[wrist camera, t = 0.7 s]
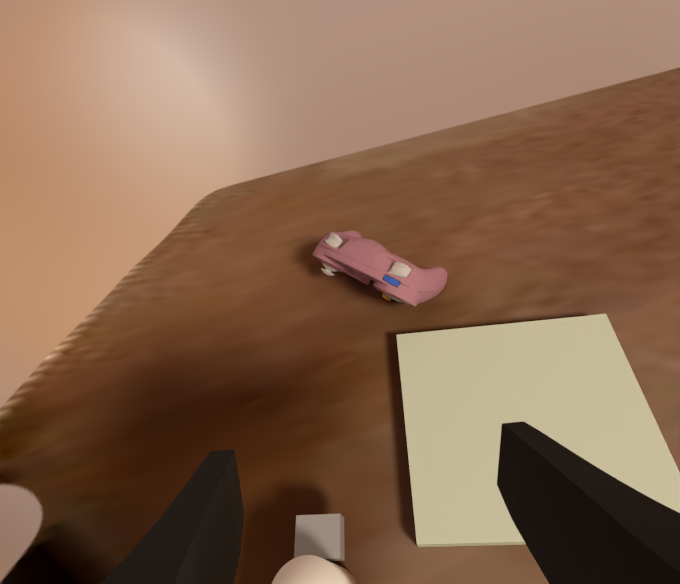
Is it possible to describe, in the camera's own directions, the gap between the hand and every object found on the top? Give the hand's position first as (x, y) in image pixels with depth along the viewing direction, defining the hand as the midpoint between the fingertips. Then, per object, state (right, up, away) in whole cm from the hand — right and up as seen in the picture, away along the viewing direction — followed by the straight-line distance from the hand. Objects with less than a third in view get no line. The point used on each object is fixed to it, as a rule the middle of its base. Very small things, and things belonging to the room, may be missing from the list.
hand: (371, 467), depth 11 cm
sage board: (+10, -3, +15) cm, 18 cm away
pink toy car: (+3, +5, +24) cm, 24 cm away
